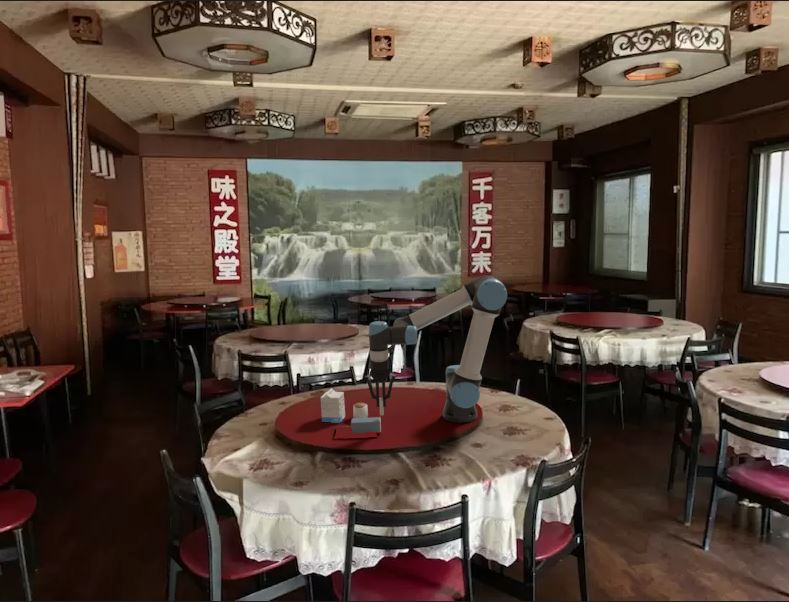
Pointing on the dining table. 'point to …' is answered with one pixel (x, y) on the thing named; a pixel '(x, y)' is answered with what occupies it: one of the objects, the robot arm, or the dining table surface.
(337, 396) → the ink box
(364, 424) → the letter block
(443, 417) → the robot arm
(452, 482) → the dining table surface
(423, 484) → the dining table surface
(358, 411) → the white ceramic teacup
